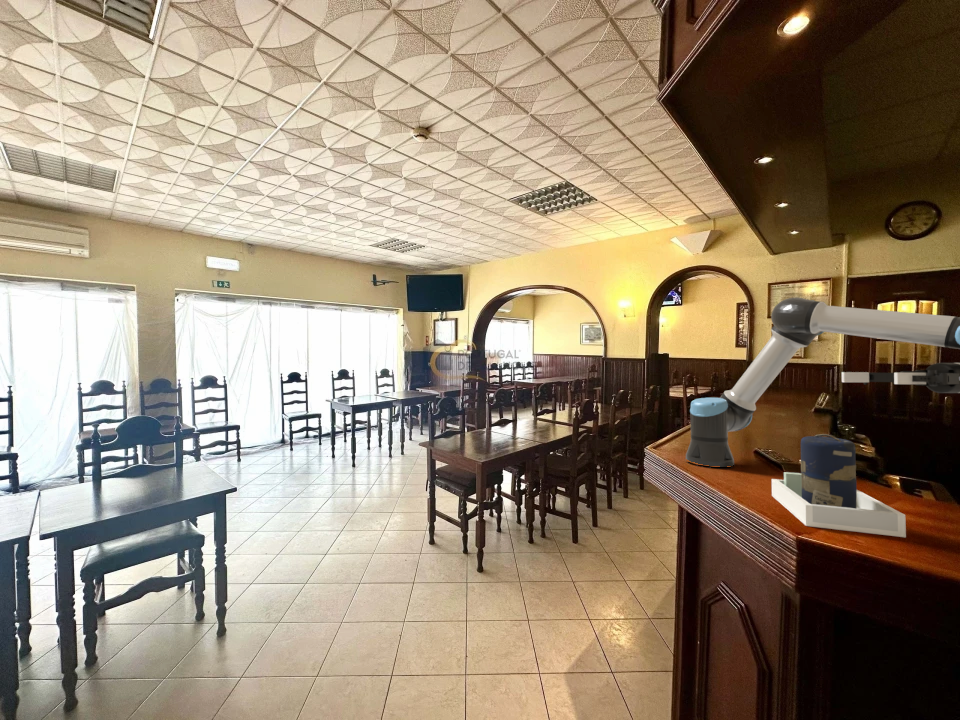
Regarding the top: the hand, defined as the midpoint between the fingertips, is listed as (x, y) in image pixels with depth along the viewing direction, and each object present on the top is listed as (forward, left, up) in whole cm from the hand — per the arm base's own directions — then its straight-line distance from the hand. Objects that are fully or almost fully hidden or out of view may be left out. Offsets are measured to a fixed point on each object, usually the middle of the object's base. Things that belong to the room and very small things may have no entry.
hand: (867, 377), depth 98 cm
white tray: (+10, -12, -32) cm, 35 cm away
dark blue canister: (+13, -13, -31) cm, 36 cm away
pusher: (+3, -12, -31) cm, 33 cm away
